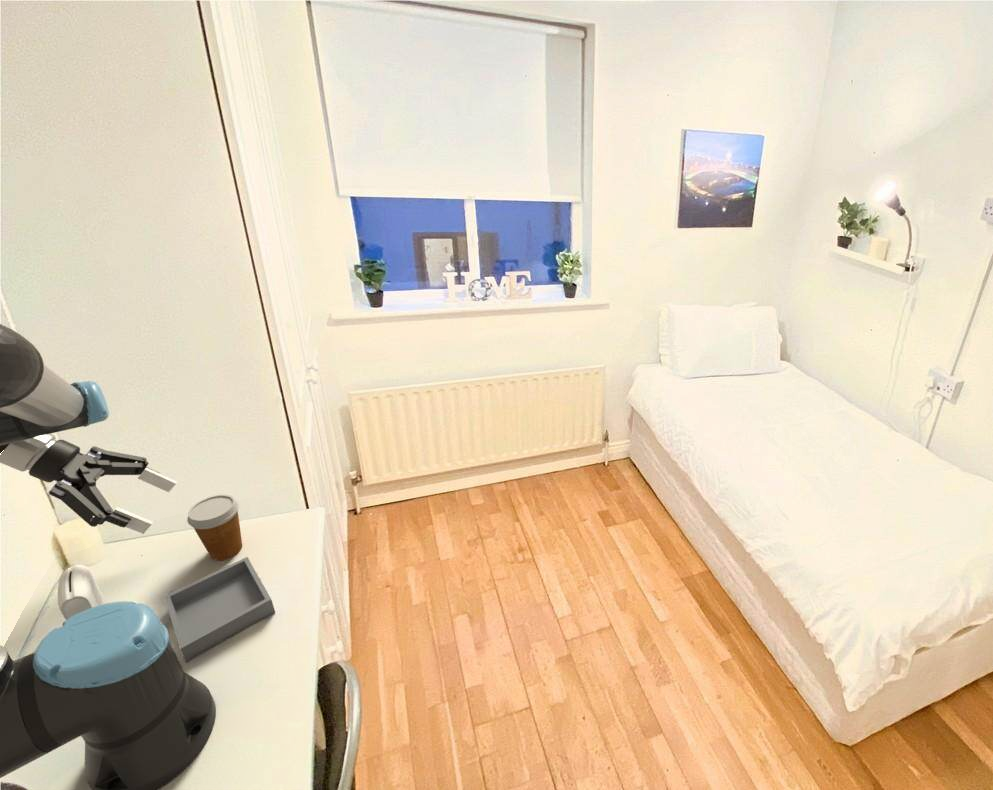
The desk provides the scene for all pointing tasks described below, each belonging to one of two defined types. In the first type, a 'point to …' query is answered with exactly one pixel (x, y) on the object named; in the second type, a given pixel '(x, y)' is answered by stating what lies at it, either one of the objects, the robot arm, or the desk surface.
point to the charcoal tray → (217, 607)
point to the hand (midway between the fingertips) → (161, 506)
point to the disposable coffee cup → (217, 525)
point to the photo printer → (78, 591)
